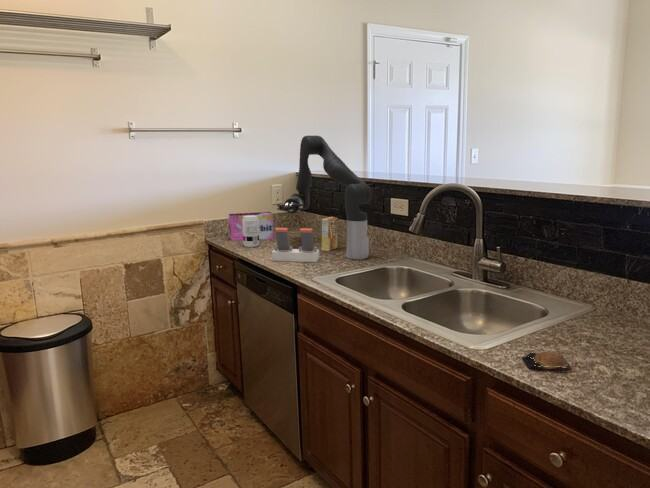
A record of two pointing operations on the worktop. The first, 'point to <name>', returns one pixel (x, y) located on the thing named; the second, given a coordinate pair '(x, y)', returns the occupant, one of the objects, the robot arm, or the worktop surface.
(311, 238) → the near paddle
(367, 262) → the worktop surface
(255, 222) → the supplement can
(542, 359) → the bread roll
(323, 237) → the candy box
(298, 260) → the white paddle base
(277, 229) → the far paddle
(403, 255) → the worktop surface
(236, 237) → the gum box
